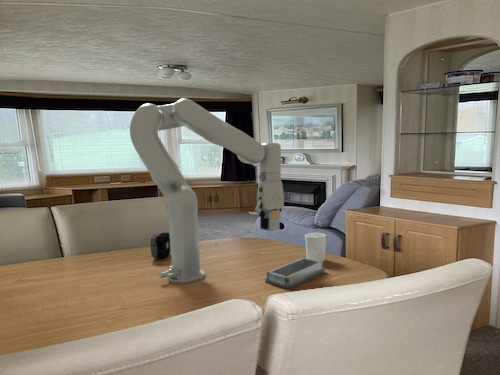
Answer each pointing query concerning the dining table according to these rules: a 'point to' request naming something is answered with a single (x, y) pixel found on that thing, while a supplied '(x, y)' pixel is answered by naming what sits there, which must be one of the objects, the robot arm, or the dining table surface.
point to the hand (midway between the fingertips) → (269, 227)
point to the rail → (295, 273)
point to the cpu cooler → (160, 245)
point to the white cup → (315, 246)
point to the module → (272, 220)
